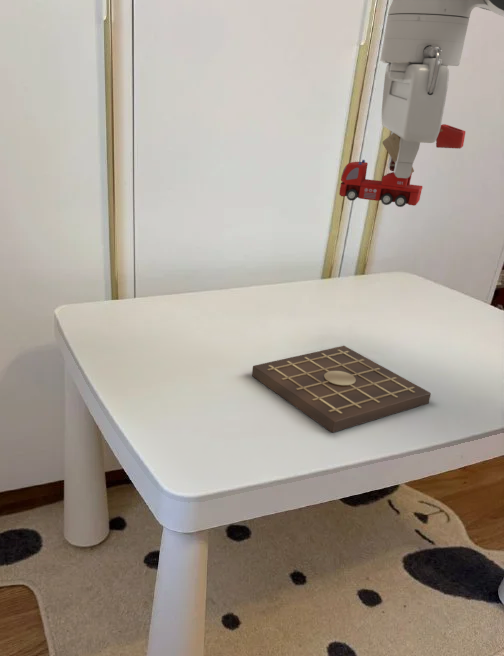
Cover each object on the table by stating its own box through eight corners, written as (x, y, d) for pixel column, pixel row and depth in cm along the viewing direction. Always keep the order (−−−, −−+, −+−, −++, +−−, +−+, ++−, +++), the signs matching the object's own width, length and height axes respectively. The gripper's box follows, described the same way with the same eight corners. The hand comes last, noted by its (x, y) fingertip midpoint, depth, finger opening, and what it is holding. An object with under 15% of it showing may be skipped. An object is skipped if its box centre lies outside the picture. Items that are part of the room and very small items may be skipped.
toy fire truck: (341, 194, 84) (353, 115, 80) (448, 208, 80) (468, 125, 75) (335, 198, 82) (347, 116, 77) (445, 213, 77) (465, 127, 72)
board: (428, 403, 79) (431, 391, 78) (332, 433, 72) (334, 420, 71) (342, 354, 91) (344, 344, 90) (251, 375, 84) (252, 364, 83)
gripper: (473, 47, 63) (441, 190, 69) (432, 49, 81) (410, 164, 87) (409, 43, 63) (383, 186, 70) (382, 47, 81) (363, 160, 88)
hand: (397, 173), depth 79 cm, fingers closed on toy fire truck, 4 cm apart
